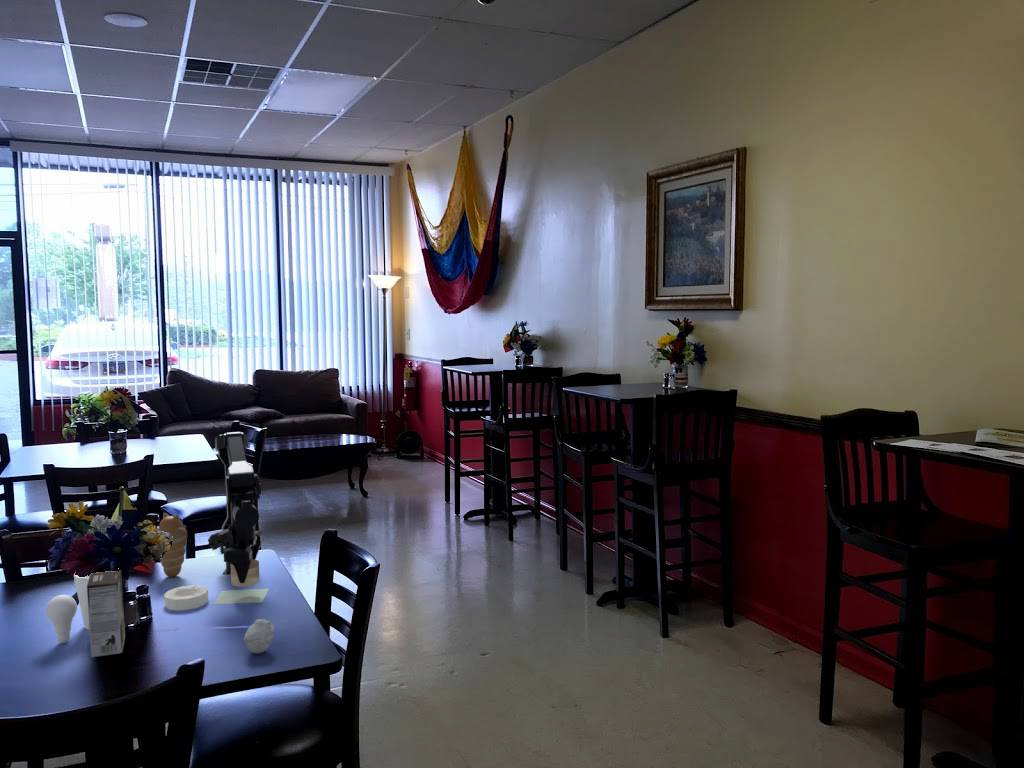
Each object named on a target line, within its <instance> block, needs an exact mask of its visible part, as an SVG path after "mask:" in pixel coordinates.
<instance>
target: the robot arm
mask: <svg viewBox="0 0 1024 768" xmlns="http://www.w3.org/2000/svg"><path fill="white" fill-rule="evenodd" d="M248 437H249V436H248V434H246V433H244V432H241V431H232V432H231V431H230V432H225V433H223V434H219V435H218V436H215V439H214V441H215V442H214V445H215V447H214V448H215V451H216V452H217V455H218V458H219V459H220V460H221V462H222V463H223V465H224V476H225V477H224V478H225V481H224V482H225V483H224V484H225V498H226V500H225V501H226V518H225V520H224V522H223V524H222V526H221V530H220V531H218V532H215V533H213V534H210V536H209V537H208V538H207V541H208V547H211V550H212V551H215V550H218V548H219V552H220V554H221V555H223V562H224V563H225V569H224V571H223V572H222V575H231V566H230V565H231V564H232V565H234V567H235V570H236V573H237V576H238V579H239V582H240V583H244V582H245V580H246V577H247V574H248V571H249V568H250V565H251V562H252V559H254V560H257V556H258V553H259V550H260V548H261V546H262V543H263V541H264V535H263V533H262V532H261V531H260V530H256V525H257V524H258V523H259V520H260V514H259V511H258V509H257V507H256V506H255V500H259V499H261V498H260V495H262V488H261V481H260V477H258V474H256V473H255V471H254V470H255V469H254V467H253V466H252V465H251V464H249V463H248V462H247V457H246V456H247V455H246V450H247V449H248V448H249V440H248ZM257 542H258V543H257Z"/></svg>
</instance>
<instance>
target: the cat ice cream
mask: <svg viewBox="0 0 1024 768" xmlns="http://www.w3.org/2000/svg"><path fill="white" fill-rule="evenodd" d="M179 517H180V516H179V514H175V515H169V514H168V513H167V512H163V518H162V519H161V521H159V524H158V530H161V531H164V532H169V533H170V534H171V535H172V536H173V542H172V546H171V548H170V549H169V550H168V551H167V552H166V553H165V554H164V555H163V557H162V558H161V559H160V564H161V566H162V567H163V568H162V569H163V573H164V575H166V576H167V577H168V578H174V577H177V576H178V575H179V574H180V573H181V571H182V567H183V563H184V562H185V554H186V550H187V549H186V547H187V543H188V541H187V539H188V531H187V529H186V527H185V526H184V524H183V522H182V520H181V519H180V518H179Z"/></svg>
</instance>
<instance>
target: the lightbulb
mask: <svg viewBox="0 0 1024 768" xmlns="http://www.w3.org/2000/svg"><path fill="white" fill-rule="evenodd" d="M77 610H78V604H77V601H76V600H75V599H74V598H73V597H72V596H71V595H68V594H59V595H56V596H54V597H53V598H51V599H50V600H49V601H48V603H47V605H46V608H45V614H46V617H47V618H48V620H49V621H50V622H51V624H52V626H53V628H54V633H55V634H56V635H55V636H56V642H58V643H60V644H65V643H67V642H68V641H70V638H71V630H72V622H73V619H74V617H75V615H76V614H77Z"/></svg>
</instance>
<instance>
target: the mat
mask: <svg viewBox="0 0 1024 768" xmlns="http://www.w3.org/2000/svg"><path fill="white" fill-rule="evenodd" d="M269 590H270V588H253V589H231V590H228V589H227V590H222V591H221V593H220V594H219V595H218V597H217V598H216V600H215V601H214V603H213V605H231V604H232V605H233V604H249V603H250V604H251V603H253V604H254V603H263V601H264V599H265V597H266V595H267V594H268V592H269Z"/></svg>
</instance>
